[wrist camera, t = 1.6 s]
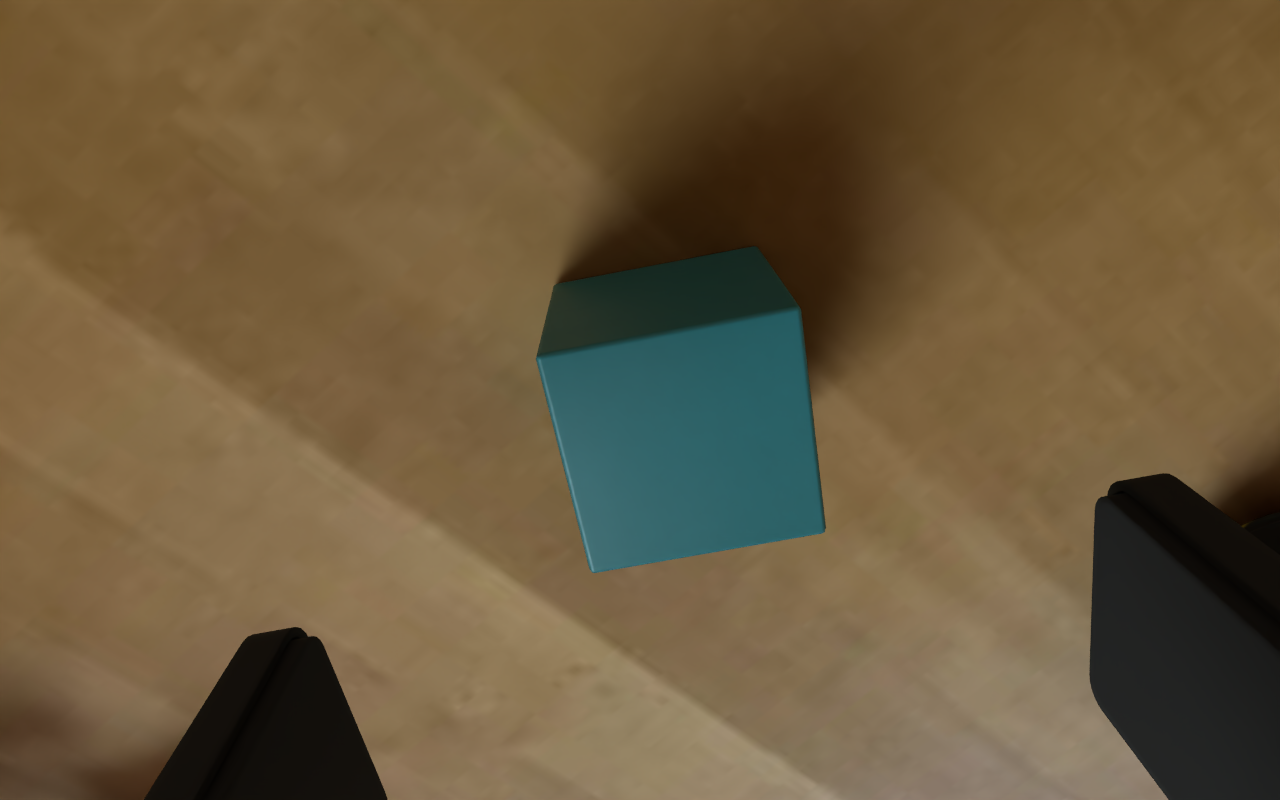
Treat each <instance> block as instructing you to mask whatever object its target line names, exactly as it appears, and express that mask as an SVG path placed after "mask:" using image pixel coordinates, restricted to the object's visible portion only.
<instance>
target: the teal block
mask: <svg viewBox="0 0 1280 800" xmlns="http://www.w3.org/2000/svg"><path fill="white" fill-rule="evenodd" d="M536 361H537V365H538V368H539V372H540V376H541V380H542V384H543V388H544V392H545V396H546V400H547V404H548V408H549V412H550V416H551V420H552V423H553V427H554V431H555V435H556V439H557V443H558V447H559V451H560V455H561V459H562V463H563V467H564V471H565V475H566V479H567V482H568V486H569V490H570V494H571V498H572V502H573V506H574V510H575V514H576V518H577V522H578V526H579V530H580V534H581V537H582V541H583V545H584V549H585V553H586V557H587V561H588V565H589V569H590V570H591V572H593V573H597V572H603V571H609V570H614V569H620V568H626V567H632V566H637V565H643V564H649V563H655V562H660V561H666V560H672V559H678V558H683V557H689V556H695V555H701V554H706V553H712V552H718V551H724V550H729V549H735V548H741V547H747V546H752V545H758V544H764V543H770V542H775V541H781V540H787V539H793V538H798V537H804V536H810V535H816V534H821V533H824V532H825V529H826V525H825V516H824V507H823V498H822V490H821V481H820V472H819V463H818V454H817V445H816V437H815V428H814V419H813V410H812V401H811V392H810V384H809V375H808V366H807V357H806V348H805V339H804V331H803V322H802V313H801V309H800V307H799V305H798V304H797V303H796V301H795V300H794V298H793V297H792V295H791V294H790V293H789V291H788V290H787V288H786V287H785V285H784V284H783V283H782V281H781V280H780V278H779V277H778V275H777V274H776V273H775V271H774V270H773V268H772V267H771V266H770V264H769V263H768V261H767V260H766V258H765V257H764V256H763V254H762V253H761V251H760V250H759V248H758V247H755V246H753V247H748V248H742V249H737V250H732V251H727V252H721V253H716V254H711V255H706V256H701V257H695V258H690V259H685V260H680V261H674V262H669V263H664V264H659V265H653V266H648V267H643V268H638V269H633V270H627V271H622V272H617V273H612V274H606V275H601V276H596V277H591V278H585V279H580V280H575V281H570V282H565V283H559V284H556V285H554V287H553V292H552V296H551V300H550V304H549V308H548V312H547V316H546V320H545V324H544V328H543V332H542V336H541V340H540V344H539V349H538V353H537V357H536Z"/></svg>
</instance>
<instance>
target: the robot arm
mask: <svg viewBox="0 0 1280 800" xmlns="http://www.w3.org/2000/svg"><path fill="white" fill-rule="evenodd" d="M1090 683H1091V688H1092V691H1093V694H1094V697H1095V699H1096V701H1097V703H1098V705H1099V706H1100V708H1101V710H1102V711H1103V712H1104V714H1105V715H1106V716H1107V718H1108V719H1109V720H1110V722H1111V723H1112V724H1113V726H1114V727H1115V728H1116V730H1117V731H1118V732H1119V734H1120V735H1121V736H1122V738H1123V739H1124V740H1125V742H1126V743H1127V744H1128V746H1129V747H1130V748H1131V750H1132V751H1133V752H1134V754H1135V755H1136V756H1137V758H1138V759H1139V760H1140V762H1141V763H1142V764H1143V766H1144V767H1145V768H1146V770H1147V771H1148V772H1149V774H1150V775H1151V777H1152V778H1153V779H1154V781H1155V782H1156V783H1157V785H1158V786H1159V787H1160V789H1161V790H1162V791H1163V793H1164V794H1165V795H1166V797H1167V798H1168V799H1169V800H1280V555H1279V554H1278V553H1276V552H1275V551H1274V550H1272V549H1271V548H1270V547H1268V546H1267V545H1266V544H1264V543H1263V542H1262V541H1260V540H1259V539H1258V538H1256V537H1255V536H1254V535H1252V534H1251V533H1250V532H1248V531H1247V530H1246V529H1244V528H1243V527H1242V526H1240V525H1239V524H1238V523H1236V522H1235V521H1234V520H1232V519H1231V518H1230V517H1228V516H1227V515H1226V514H1224V513H1223V512H1222V511H1220V510H1219V509H1218V508H1216V507H1215V506H1214V505H1212V504H1211V503H1210V502H1208V501H1207V500H1206V499H1204V498H1203V497H1202V496H1200V495H1199V494H1198V493H1196V492H1195V491H1194V490H1192V489H1191V488H1190V487H1188V486H1187V485H1186V484H1184V483H1183V482H1182V481H1180V480H1179V479H1178V478H1176V477H1174V476H1172V475H1170V474H1157V475H1151V476H1145V477H1140V478H1134V479H1129V480H1123V481H1117V482H1115V483H1113V484H1112V485H1111V486H1110V488H1109V490H1108V495H1107V496H1105V497H1101V498H1099V499H1098V501H1097V502H1096V506H1095V522H1094V552H1093V583H1092V614H1091V645H1090ZM144 800H387V796H386V793H385V791H384V788H383V786H382V783H381V781H380V779H379V776H378V774H377V772H376V769H375V767H374V764H373V762H372V760H371V757H370V755H369V753H368V750H367V748H366V745H365V743H364V741H363V738H362V736H361V733H360V731H359V729H358V726H357V724H356V722H355V719H354V717H353V714H352V712H351V710H350V707H349V705H348V703H347V700H346V698H345V695H344V693H343V691H342V688H341V686H340V684H339V681H338V679H337V676H336V674H335V672H334V669H333V667H332V665H331V662H330V660H329V657H328V655H327V653H326V650H325V648H324V646H323V644H322V642H321V640H320V639H319V638H317V637H314V636H311V637H308V636H307V634H306V633H305V632H304V631H303V630H302V629H301V628H297V627H293V628H287V629H282V630H276V631H270V632H265V633H259V634H253V635H251V636H248V637H247V638H246V639H245V640H244V641H243V642H242V644H241V646H240V647H239V649H238V650H237V652H236V654H235V655H234V657H233V658H232V660H231V661H230V663H229V665H228V666H227V668H226V669H225V671H224V673H223V674H222V676H221V677H220V679H219V681H218V682H217V684H216V685H215V687H214V689H213V690H212V692H211V693H210V695H209V697H208V698H207V700H206V701H205V703H204V705H203V706H202V708H201V709H200V711H199V712H198V714H197V716H196V717H195V719H194V720H193V722H192V724H191V725H190V727H189V728H188V730H187V732H186V733H185V735H184V736H183V738H182V740H181V741H180V743H179V744H178V746H177V748H176V749H175V751H174V752H173V754H172V756H171V757H170V759H169V760H168V762H167V764H166V765H165V767H164V768H163V770H162V771H161V773H160V775H159V776H158V778H157V779H156V781H155V783H154V784H153V786H152V787H151V789H150V791H149V792H148V794H147V795H146V797H145V799H144Z"/></svg>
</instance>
